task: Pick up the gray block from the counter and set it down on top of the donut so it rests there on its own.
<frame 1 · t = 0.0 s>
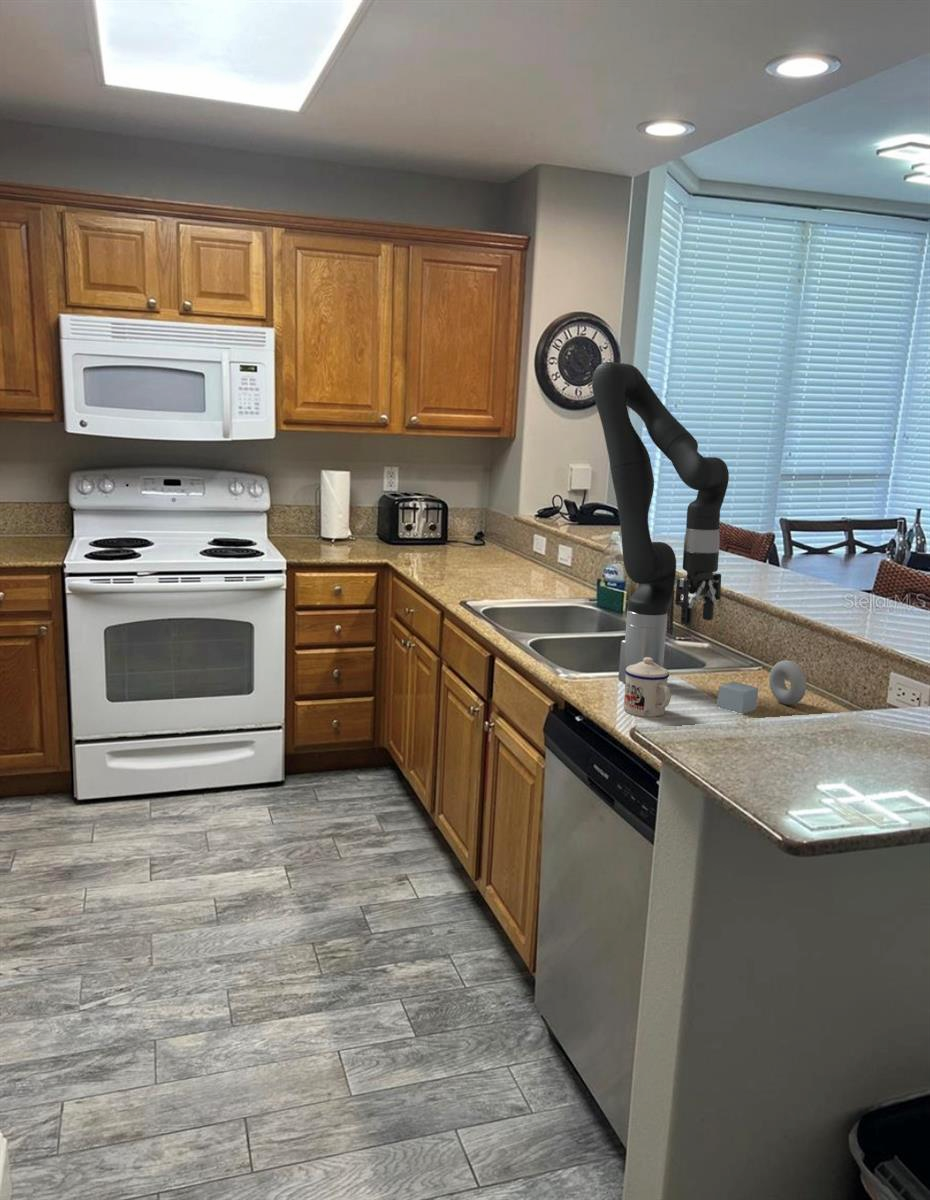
hand: (696, 622, 204), 17 cm above the table, tool pointing down, fingers open, 8 cm apart
donut: (785, 705, 204), on the table
gray block: (736, 708, 200), on the table
teacup with lid: (648, 714, 194), on the table
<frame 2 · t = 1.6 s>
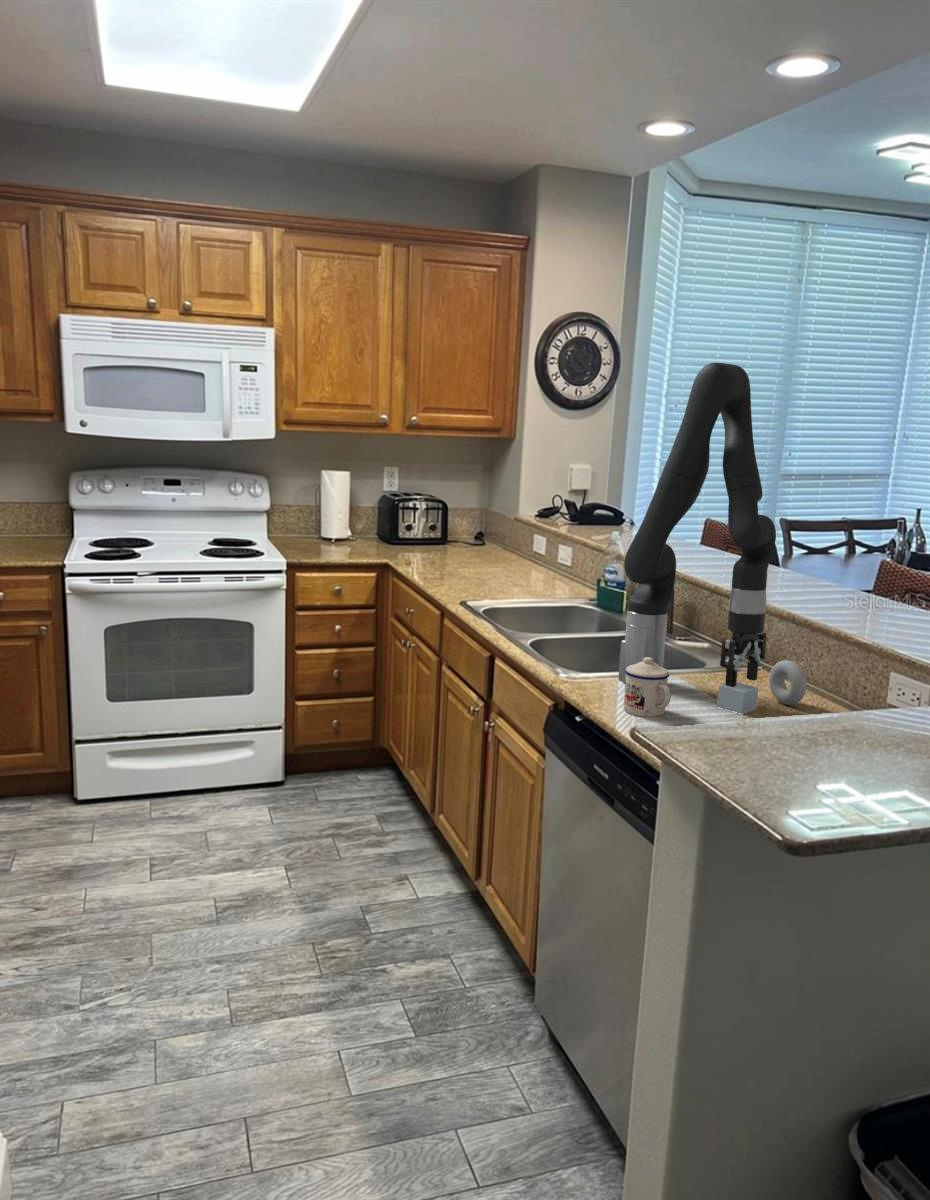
hand: (741, 683, 198), 6 cm above the table, tool pointing down, fingers open, 8 cm apart
nothing on the table moved.
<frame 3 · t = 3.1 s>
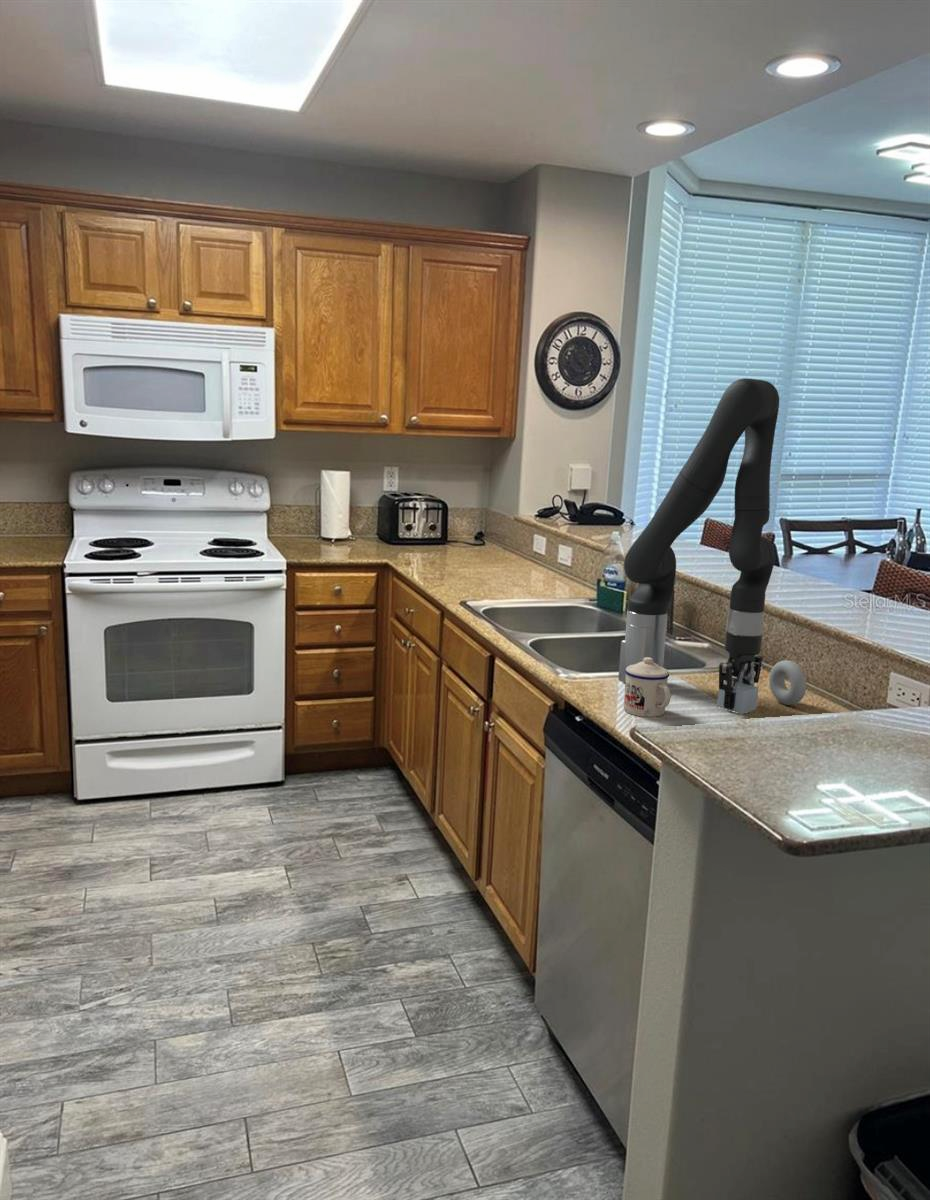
hand: (736, 705, 200), 1 cm above the table, tool pointing down, fingers closed on gray block, 6 cm apart
gray block: (736, 708, 200), on the table, touching gripper
everything else where it was.
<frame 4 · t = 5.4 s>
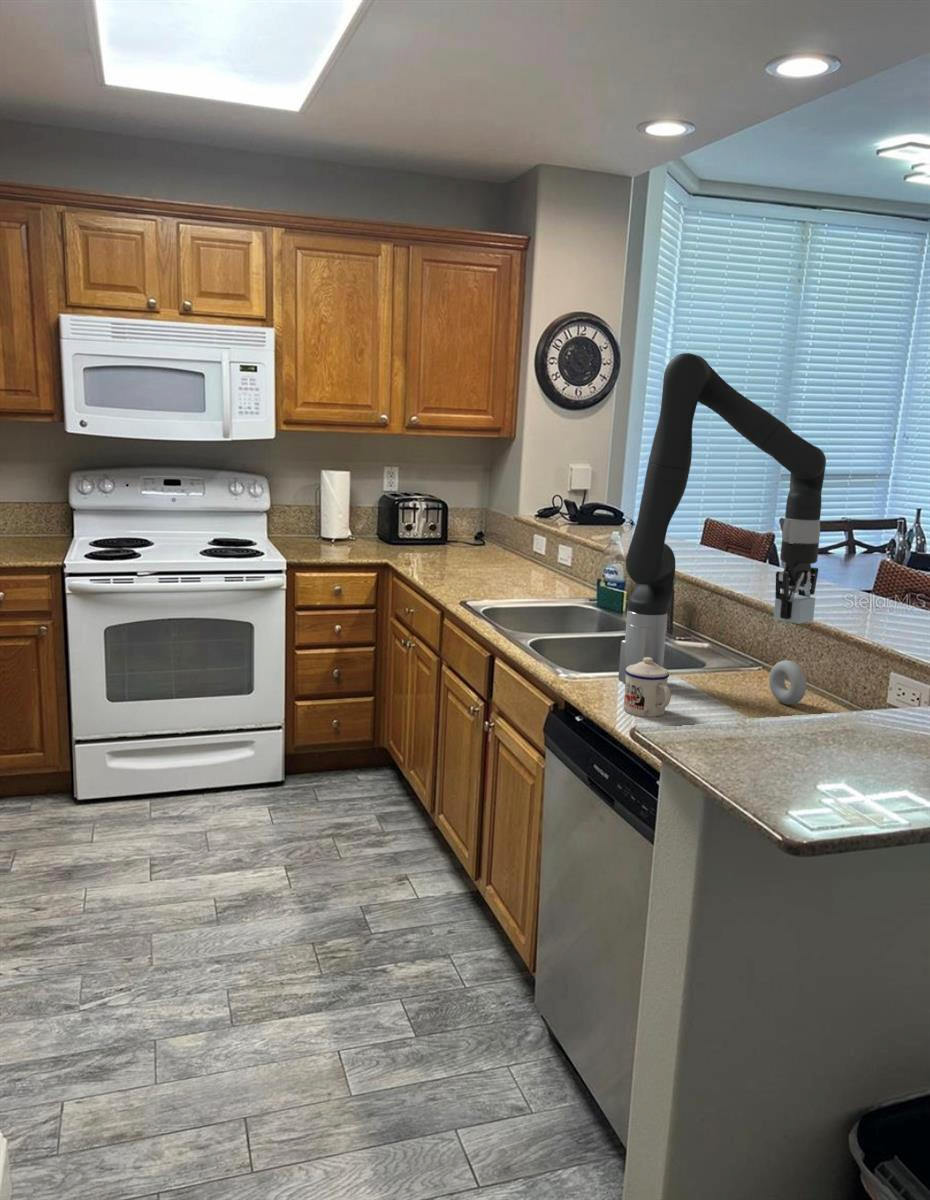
hand: (793, 616, 199), 20 cm above the table, tool pointing down, fingers closed on gray block, 6 cm apart
gray block: (793, 619, 200), point 19 cm above the table, touching gripper
everything else where it was.
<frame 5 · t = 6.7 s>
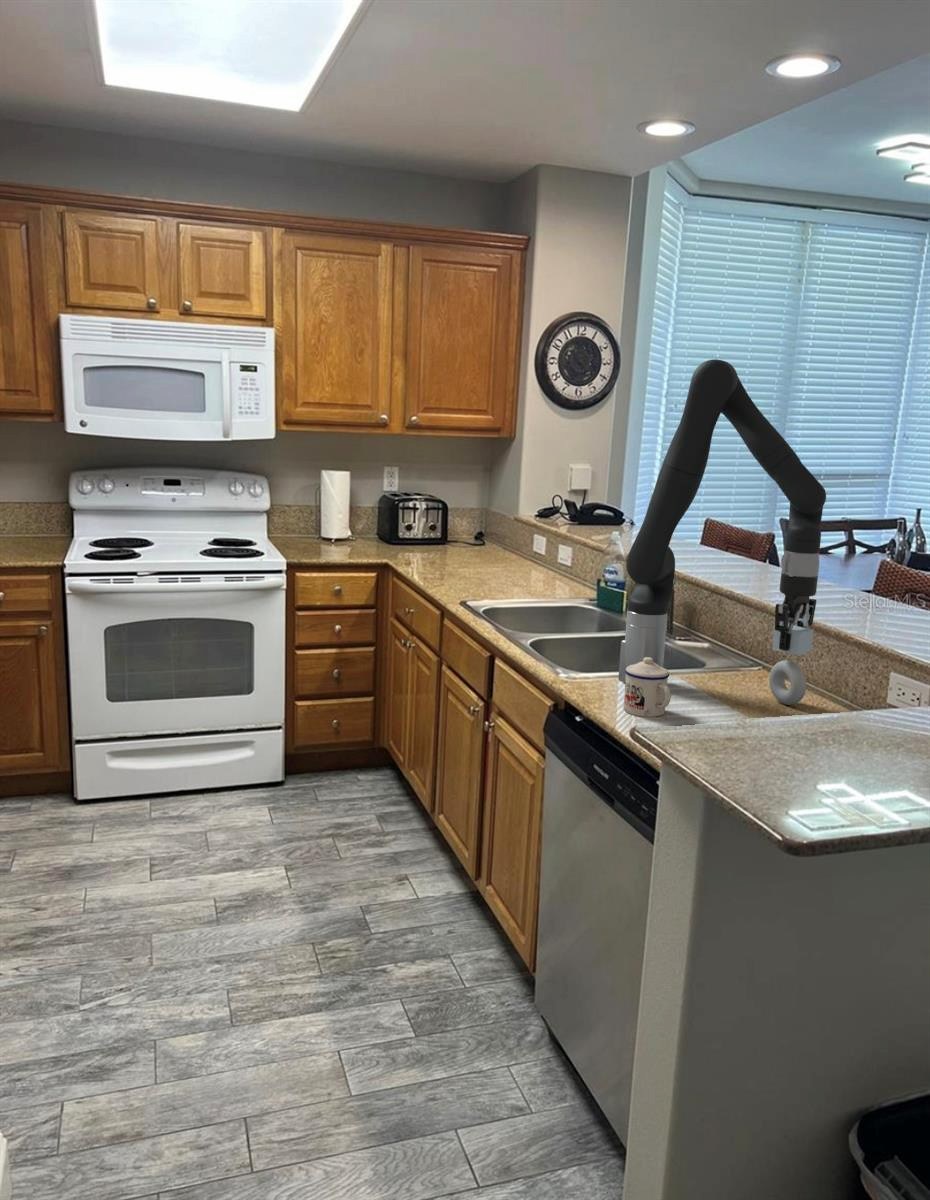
hand: (791, 647, 202), 13 cm above the table, tool pointing down, fingers closed on gray block, 6 cm apart
gray block: (791, 650, 202), point 12 cm above the table, touching gripper
everything else where it was.
when the fingers open (12 cm above the table, at t = 7.9 s): gray block stays where it is, resting on donut.
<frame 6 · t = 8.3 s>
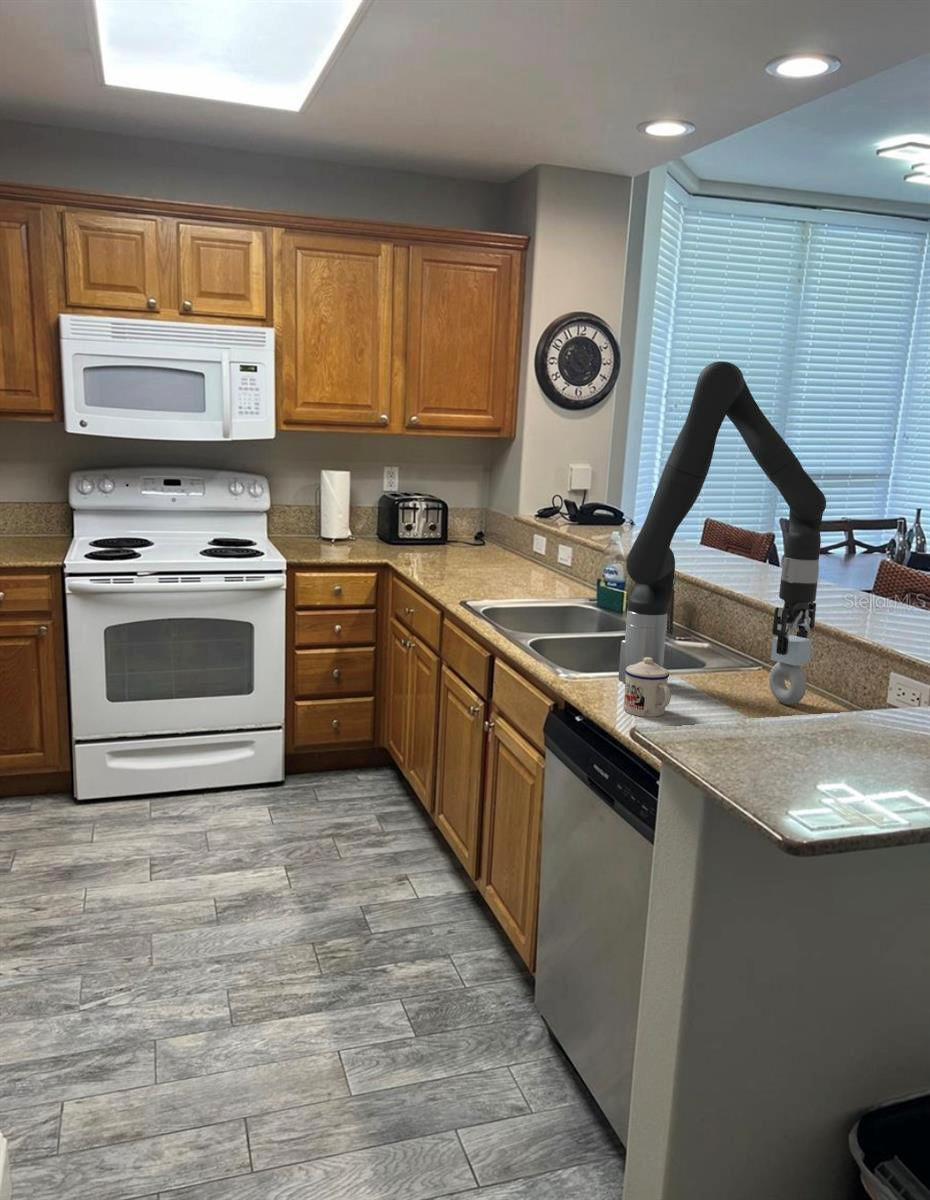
hand: (791, 651, 202), 12 cm above the table, tool pointing down, fingers open, 8 cm apart
donut: (785, 705, 204), on the table, touching gray block
gray block: (790, 660, 202), point 10 cm above the table, touching donut
everything else where it was.
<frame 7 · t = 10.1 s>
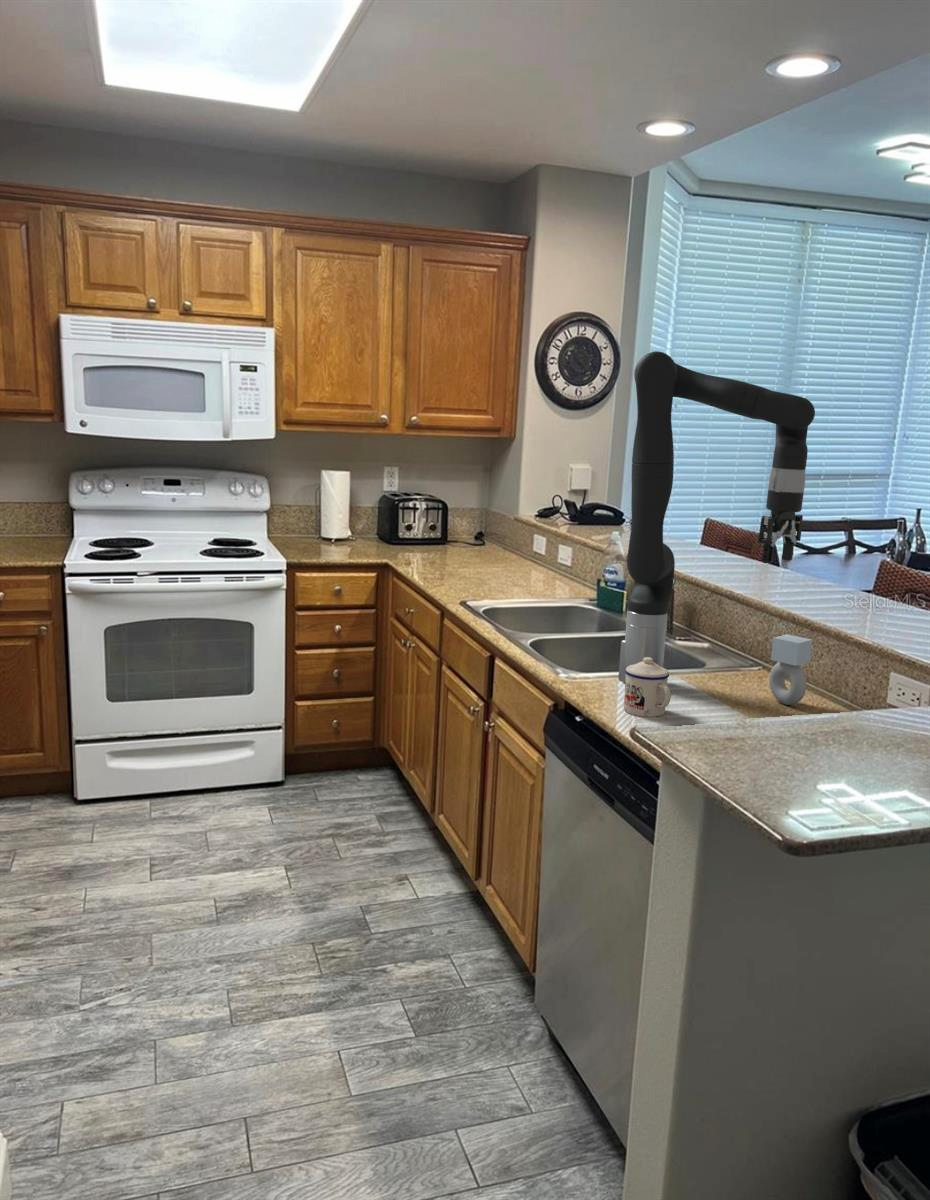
hand: (776, 561, 207), 31 cm above the table, tool pointing down, fingers open, 8 cm apart
nothing on the table moved.
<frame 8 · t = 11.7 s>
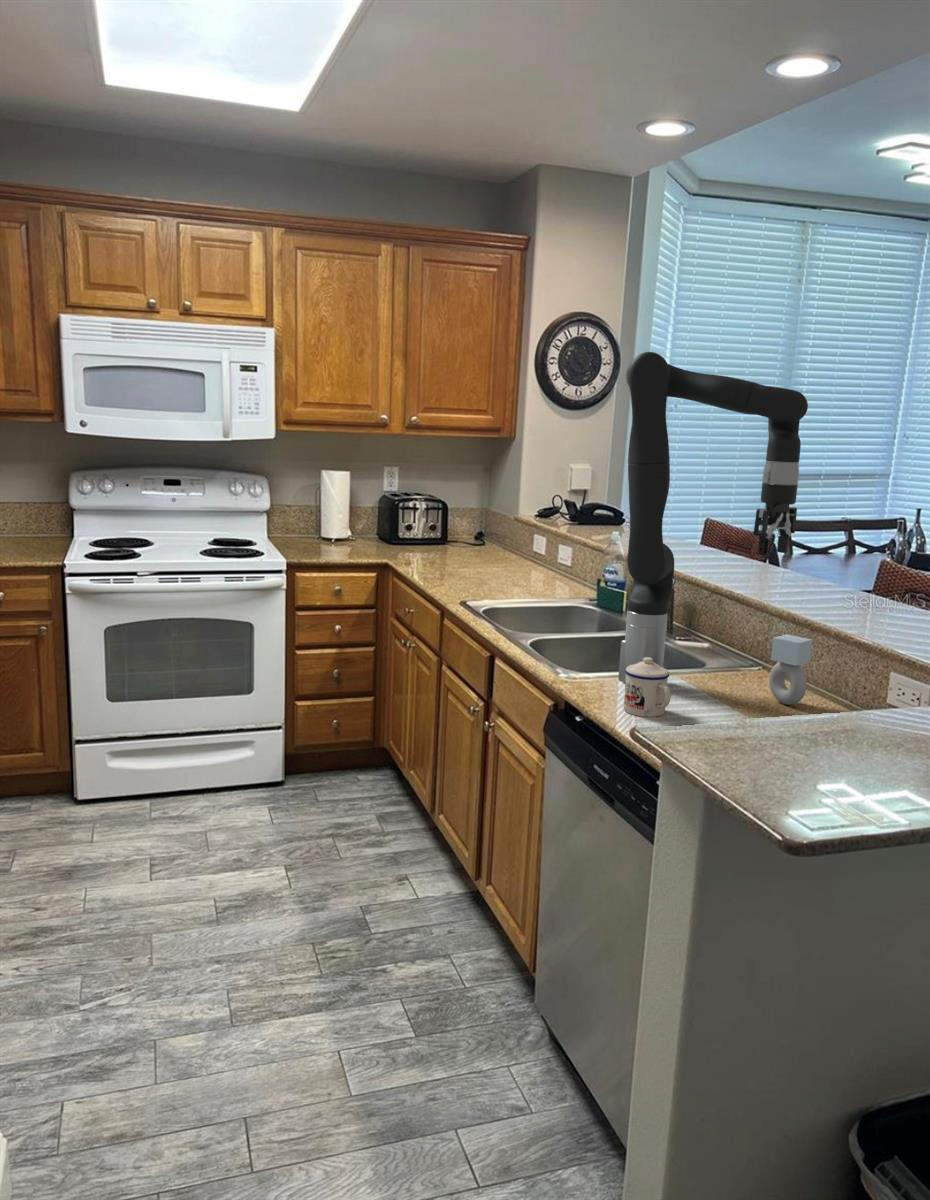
hand: (772, 553, 208), 32 cm above the table, tool pointing down, fingers open, 8 cm apart
nothing on the table moved.
at the end: gray block inside the target area on the donut (0.0 cm from its centre), point 10.2 cm above the donut's base; gray block tilted 0°; the gripper is holding nothing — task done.
